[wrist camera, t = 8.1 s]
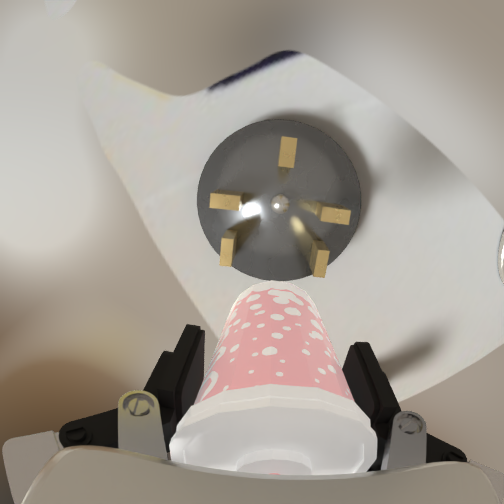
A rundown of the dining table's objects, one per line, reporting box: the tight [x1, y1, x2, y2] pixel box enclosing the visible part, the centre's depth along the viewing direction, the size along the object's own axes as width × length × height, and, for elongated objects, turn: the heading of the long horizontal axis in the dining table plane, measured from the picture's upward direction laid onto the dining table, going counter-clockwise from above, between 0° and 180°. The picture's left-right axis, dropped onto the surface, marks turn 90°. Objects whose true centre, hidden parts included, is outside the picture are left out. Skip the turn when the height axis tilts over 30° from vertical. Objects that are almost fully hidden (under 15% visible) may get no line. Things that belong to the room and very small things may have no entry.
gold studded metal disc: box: [197, 120, 361, 281], centre depth 26 cm, size 15×15×5 cm
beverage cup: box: [169, 280, 377, 475], centre depth 9 cm, size 6×6×14 cm
